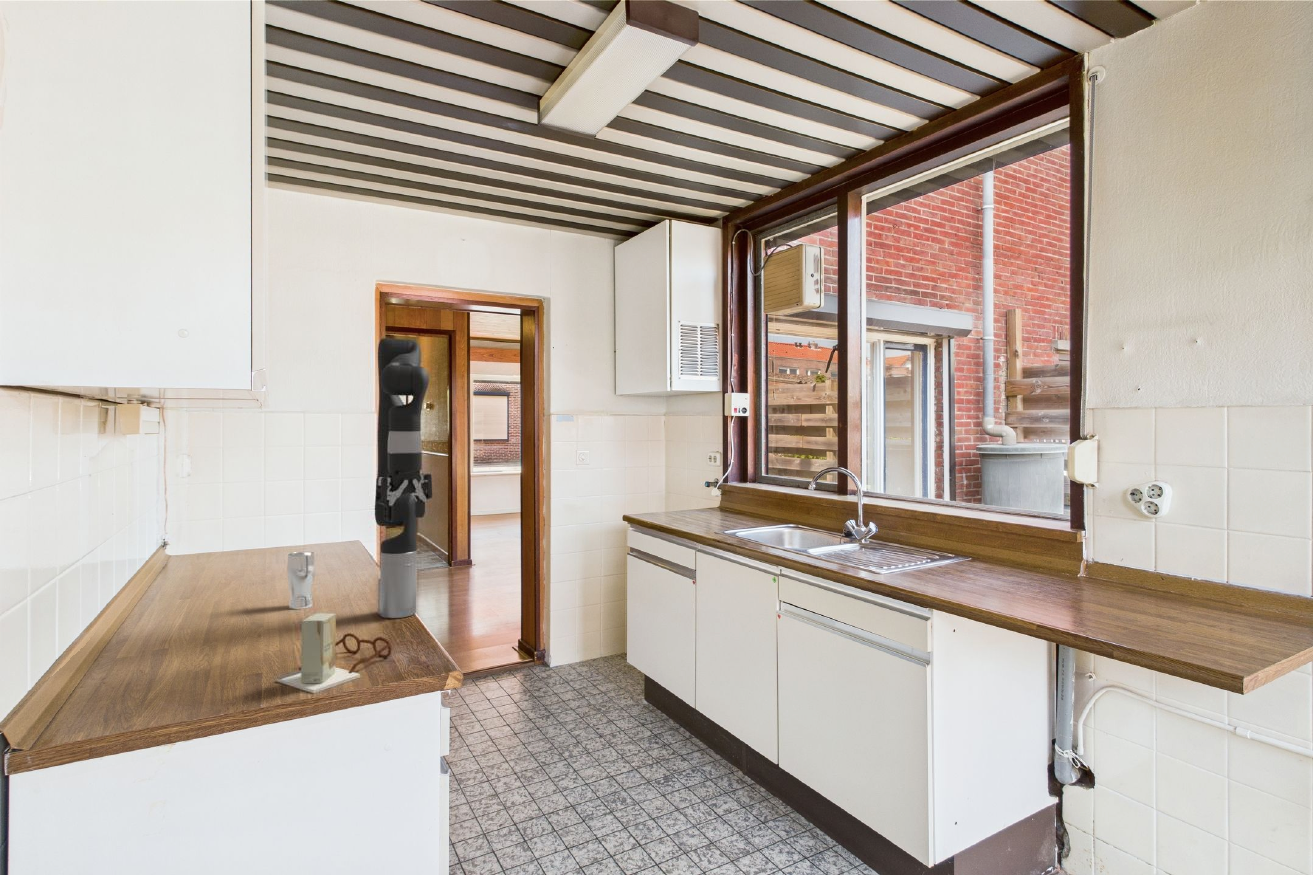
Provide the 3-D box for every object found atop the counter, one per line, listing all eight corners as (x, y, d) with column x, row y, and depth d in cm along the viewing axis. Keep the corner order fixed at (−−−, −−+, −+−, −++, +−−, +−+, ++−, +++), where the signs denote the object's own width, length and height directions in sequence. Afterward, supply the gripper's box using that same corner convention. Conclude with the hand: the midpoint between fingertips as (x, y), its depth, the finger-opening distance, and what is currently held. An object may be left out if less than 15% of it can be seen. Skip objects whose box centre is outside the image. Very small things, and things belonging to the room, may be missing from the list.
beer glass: (306, 609, 188) (306, 556, 188) (281, 609, 188) (282, 555, 188) (319, 603, 195) (319, 551, 195) (295, 603, 195) (295, 551, 195)
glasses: (392, 659, 149) (392, 637, 149) (348, 680, 136) (348, 655, 136) (345, 653, 153) (345, 631, 153) (297, 672, 141) (297, 648, 141)
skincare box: (323, 683, 131) (323, 620, 131) (299, 684, 131) (300, 621, 131) (336, 672, 138) (336, 612, 138) (314, 672, 138) (314, 612, 138)
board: (276, 681, 134) (276, 677, 134) (323, 666, 143) (323, 663, 143) (313, 693, 128) (313, 689, 128) (360, 677, 137) (360, 673, 137)
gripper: (418, 449, 167) (418, 514, 167) (368, 451, 154) (367, 521, 155) (439, 450, 163) (439, 517, 163) (389, 452, 151) (389, 524, 151)
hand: (404, 519), depth 159 cm, fingers open, 8 cm apart
